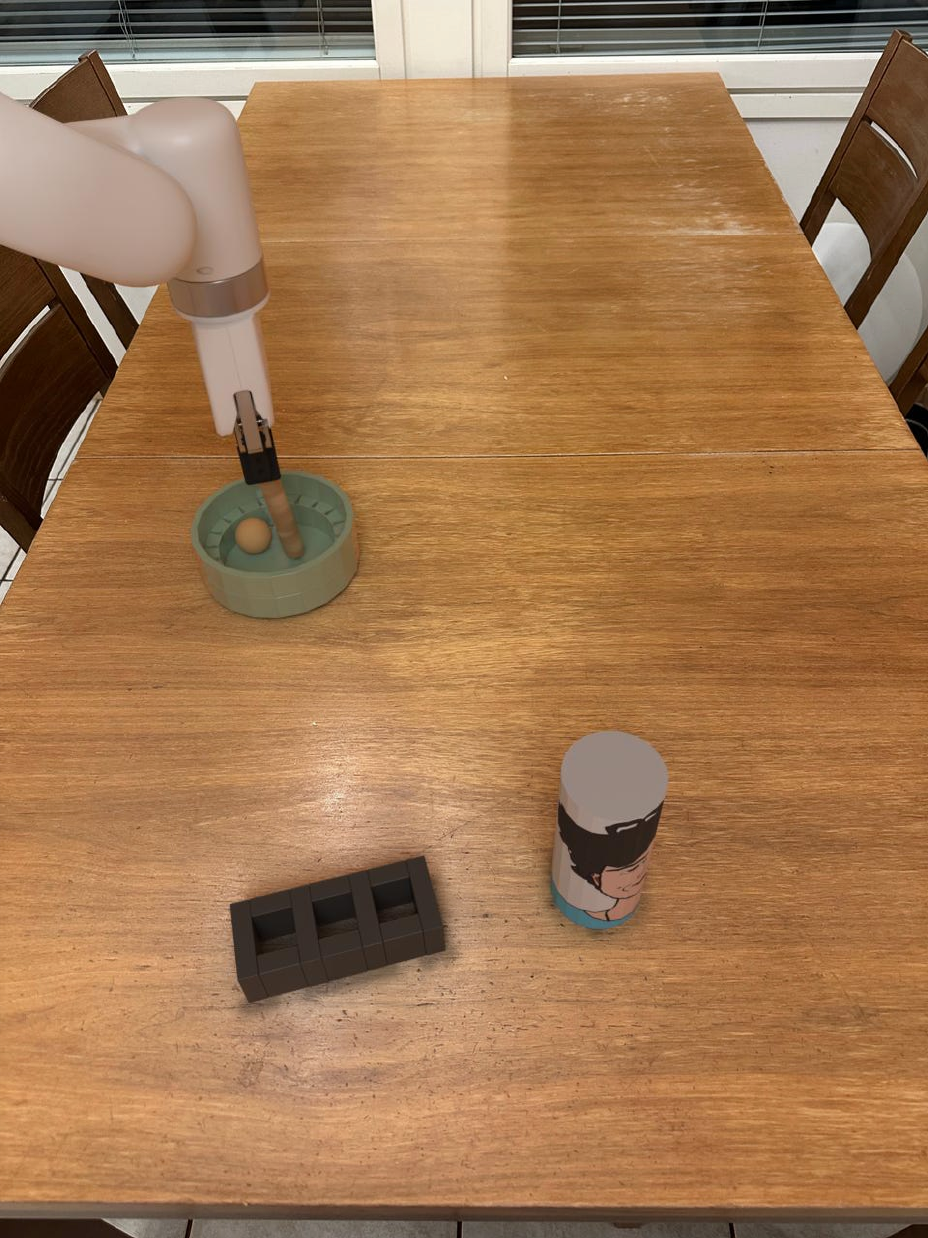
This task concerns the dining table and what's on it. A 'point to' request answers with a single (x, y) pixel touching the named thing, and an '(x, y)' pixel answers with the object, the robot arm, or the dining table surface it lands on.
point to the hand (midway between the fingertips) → (261, 470)
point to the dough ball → (253, 535)
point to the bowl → (277, 547)
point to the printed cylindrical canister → (605, 826)
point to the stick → (282, 516)
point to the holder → (342, 951)
